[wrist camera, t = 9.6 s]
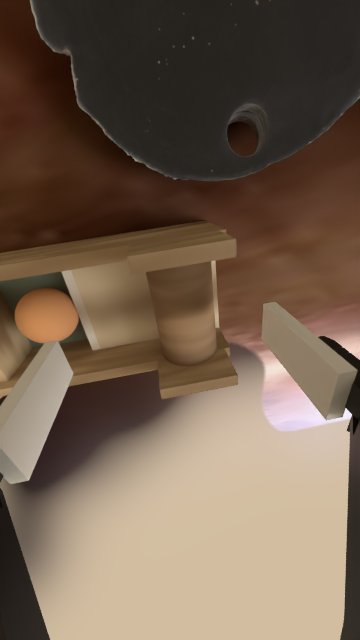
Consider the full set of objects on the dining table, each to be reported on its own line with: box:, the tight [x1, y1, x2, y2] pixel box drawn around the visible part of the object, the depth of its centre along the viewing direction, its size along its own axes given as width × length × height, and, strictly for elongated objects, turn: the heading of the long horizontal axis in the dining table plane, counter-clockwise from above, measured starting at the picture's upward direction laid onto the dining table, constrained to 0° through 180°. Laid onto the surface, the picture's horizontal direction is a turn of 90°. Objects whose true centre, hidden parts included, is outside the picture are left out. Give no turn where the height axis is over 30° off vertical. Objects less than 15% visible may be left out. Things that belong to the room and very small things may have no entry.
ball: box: [15, 288, 79, 343], centre depth 21 cm, size 5×5×5 cm
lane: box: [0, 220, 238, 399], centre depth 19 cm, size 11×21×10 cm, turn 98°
